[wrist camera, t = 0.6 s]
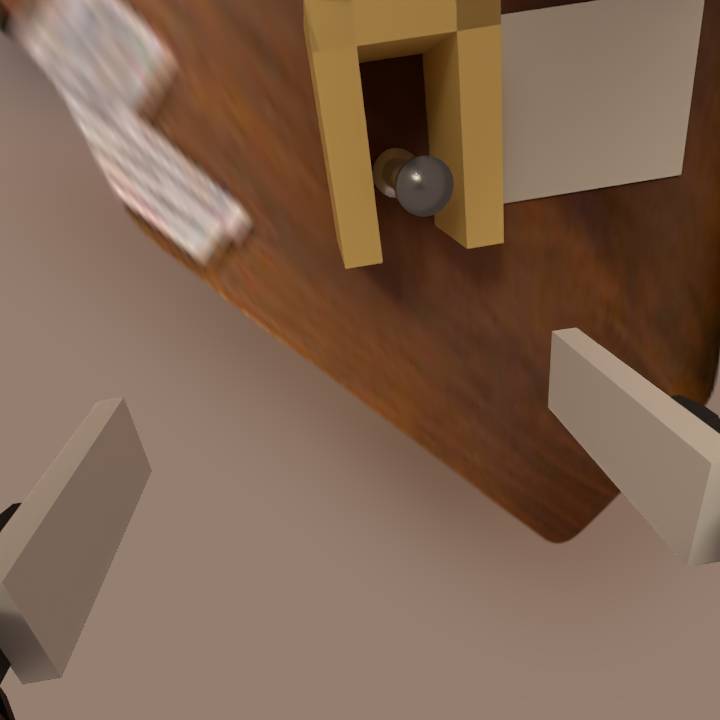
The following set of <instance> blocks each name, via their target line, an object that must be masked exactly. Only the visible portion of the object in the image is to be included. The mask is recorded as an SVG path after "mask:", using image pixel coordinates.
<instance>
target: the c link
mask: <svg viewBox="0 0 720 720" xmlns="http://www.w3.org/2000/svg"><path fill="white" fill-rule="evenodd" d="M304 34H305V41H306V47H307V53H308V60H309V66H310V72H311V79H312V85H313V91H314V98H315V104H316V110H317V117H318V123H319V129H320V135H321V142H322V148H323V154H324V161H325V167H326V173H327V180H328V186H329V192H330V199H331V205H332V211H333V218H334V224H335V230H336V236H337V242H338V245H339V249H340V252H341V255H342V259H343V262H344V266H345V269H348V268H354V267H360V266H366V265H372V264H378V263H383V260H382V251H381V243H380V235H379V227H378V218H377V210H376V202H375V193H374V185H373V177H372V169H371V160H370V152H369V144H368V136H367V127H366V119H365V111H364V102H363V94H362V86H361V78H360V69H359V63H363V62H370V61H376V60H383V59H389V58H396V57H403V56H409V55H416V54H422V58H423V72H424V86H425V99H426V113H427V127H428V141H429V155H430V156H433V157H436V158H439V159H440V160H442V161H443V162H444V163H445V164H446V165H447V166H448V167H449V169H450V171H451V173H452V176H453V181H454V187H453V193H452V196H451V198H450V200H449V202H448V203H447V205H446V206H445V207H444V208H443V209H442V210H441V211H439V212H438V213H436V214H434V224H435V226H437V227H438V228H439V229H441V230H442V231H443V232H445V233H446V234H447V235H449V236H450V237H452V238H453V239H454V240H456V241H457V242H458V243H460V244H461V245H462V246H464V247H465V248H467V249H470V248H476V247H482V246H488V245H494V244H500V243H504V212H503V135H502V58H501V0H304Z"/></svg>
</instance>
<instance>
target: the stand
mask: <svg viewBox="0 0 720 720" xmlns="http://www.w3.org/2000/svg"><path fill="white" fill-rule="evenodd" d="M372 177H373V181H374V184H375V186H376V187H377V189H378V190H379V191H380V192H381V193H383V194H384V195H386V196H389V197H393V198H397V200H398V202H399V204H400V205H401V206H402V207H403V208H404V209H405V210H407V211H408V212H409V213H411V214H413V215H416V216H420V217H426V216H431V215H434V214H436V213H438V212H439V211H441V210H442V209H443V208H444V207H445V206H446V205H447V203H448V202H449V200H450V198H451V196H452V193H453V187H454V181H453V176H452V173H451V171H450V169H449V167H448V166H447V165H446V164H445V163H444V162H443V161H442V160H440V159H439V158H436V157H433V156H428V155H419V156H415V157H414V155H413V154H412V153H411V152H409V151H408V150H406V149H403V148H396V147H395V148H389V149H387V150H385V151H383V152H382V153H381V154H380V155H379V156H378V157H377V158H376V160H375V162H374V165H373V169H372Z"/></svg>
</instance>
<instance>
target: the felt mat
mask: <svg viewBox="0 0 720 720" xmlns="http://www.w3.org/2000/svg"><path fill="white" fill-rule="evenodd" d="M704 1H705V0H596V1H590V2H583V3H576V4H570V5H563V6H556V7H549V8H543V9H536V10H529V11H523V12H516V13H509V14H502V15H501V58H502V135H503V204H504V203H510V202H516V201H522V200H528V199H534V198H541V197H547V196H553V195H559V194H565V193H572V192H578V191H584V190H590V189H596V188H602V187H609V186H615V185H621V184H627V183H633V182H640V181H646V180H652V179H658V178H664V177H670V176H677V175H681V172H682V165H683V157H684V150H685V142H686V135H687V127H688V120H689V112H690V105H691V98H692V90H693V83H694V75H695V68H696V60H697V53H698V45H699V38H700V30H701V23H702V16H703V8H704Z"/></svg>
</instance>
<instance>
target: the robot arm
mask: <svg viewBox="0 0 720 720" xmlns="http://www.w3.org/2000/svg"><path fill="white" fill-rule="evenodd" d="M548 408H549V409H550V410H551V411H552V412H553V413H554V415H555V416H556V417H557V418H558V419H559V420H560V422H561V423H562V424H563V425H564V426H565V427H566V428H567V430H568V431H569V432H570V433H571V434H572V435H573V437H574V438H575V439H576V440H577V441H578V442H579V443H580V445H581V446H582V447H583V448H584V449H585V450H586V452H587V453H588V454H589V455H590V456H591V457H592V458H593V460H594V461H595V462H596V463H597V464H598V465H599V467H600V468H601V469H602V470H603V471H604V472H605V473H606V475H607V476H608V477H609V478H610V479H611V480H612V482H613V483H614V484H615V485H616V486H617V487H618V488H619V490H620V491H621V492H622V493H623V494H624V495H625V496H626V498H627V499H628V500H629V501H630V502H631V503H632V505H633V506H634V507H635V508H636V509H637V510H638V511H639V513H640V514H641V515H642V516H643V517H644V518H645V519H646V521H647V522H648V523H649V524H650V525H651V527H652V528H653V529H654V530H655V531H656V532H657V533H658V534H659V536H660V537H661V538H662V539H663V540H664V541H665V543H666V544H667V545H668V546H669V547H670V548H671V549H672V551H673V552H674V553H675V554H676V555H677V556H678V558H679V559H680V560H681V561H682V562H683V563H684V565H685V566H686V567H691V566H697V565H701V564H708V563H713V562H719V561H720V419H719V417H718V415H716V414H715V413H714V412H712V411H711V410H709V409H708V408H706V407H705V406H704V405H702V404H700V403H698V402H695V401H693V400H690V399H688V398H685V397H683V396H680V395H677V396H671V397H669V396H668V395H667V394H665V393H664V392H663V391H661V390H660V389H658V388H657V387H656V386H654V385H653V384H652V383H650V382H649V381H648V380H646V379H645V378H644V377H642V376H641V375H640V374H638V373H637V372H636V371H634V370H633V369H632V368H630V367H629V366H628V365H626V364H625V363H623V362H622V361H621V360H619V359H618V358H617V357H615V356H614V355H613V354H611V353H610V352H609V351H607V350H606V349H605V348H603V347H602V346H601V345H599V344H598V343H597V342H595V341H594V340H593V339H591V338H590V337H588V336H587V335H586V334H584V333H583V332H582V331H580V330H579V329H578V328H570V329H563V330H557V331H552V344H551V362H550V380H549V398H548ZM150 473H151V468H150V465H149V462H148V460H147V457H146V455H145V452H144V449H143V447H142V444H141V441H140V439H139V436H138V434H137V431H136V428H135V426H134V423H133V420H132V418H131V415H130V413H129V410H128V407H127V405H126V402H125V400H124V397H121V398H115V399H108V400H102V401H97V403H96V404H95V405H94V407H93V408H92V409H91V411H90V412H89V413H88V415H87V417H86V418H85V419H84V420H83V422H82V423H81V424H80V426H79V427H78V428H77V430H76V431H75V432H74V434H73V435H72V436H71V438H70V439H69V440H68V442H67V443H66V444H65V446H64V447H63V448H62V450H61V451H60V453H59V454H58V455H57V457H56V458H55V459H54V461H53V462H52V463H51V465H50V466H49V467H48V469H47V470H46V471H45V473H44V474H43V476H42V477H41V478H40V479H39V481H38V482H37V483H36V485H35V486H34V488H33V489H32V490H31V492H30V493H29V494H28V496H27V497H26V499H25V500H24V501H23V502H22V503H17V504H12V505H11V506H10V507H9V508H8V509H6V510H5V511H4V512H2V513H1V514H0V684H1V682H2V680H3V678H4V676H5V675H6V673H7V670H8V669H9V667H10V666H11V668H12V669H13V671H14V672H15V674H16V675H17V677H18V678H19V680H20V681H21V683H22V684H27V683H32V682H39V681H44V680H50V679H55V678H61V677H62V675H63V672H64V670H65V668H66V666H67V663H68V661H69V659H70V656H71V654H72V652H73V650H74V647H75V645H76V643H77V640H78V638H79V636H80V634H81V631H82V629H83V627H84V624H85V622H86V620H87V618H88V615H89V613H90V611H91V608H92V606H93V604H94V601H95V599H96V597H97V595H98V592H99V590H100V588H101V585H102V583H103V581H104V578H105V576H106V574H107V572H108V569H109V567H110V565H111V562H112V560H113V558H114V556H115V553H116V551H117V549H118V546H119V544H120V542H121V539H122V537H123V535H124V533H125V531H126V528H127V526H128V524H129V521H130V519H131V517H132V515H133V512H134V510H135V508H136V505H137V503H138V501H139V498H140V496H141V494H142V492H143V489H144V487H145V485H146V482H147V480H148V478H149V476H150ZM0 720H15V718H14V715H13V712H12V710H11V707H10V704H9V701H8V699H7V696H6V694H5V693H4V692H3V690H2V689H1V688H0Z"/></svg>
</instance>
